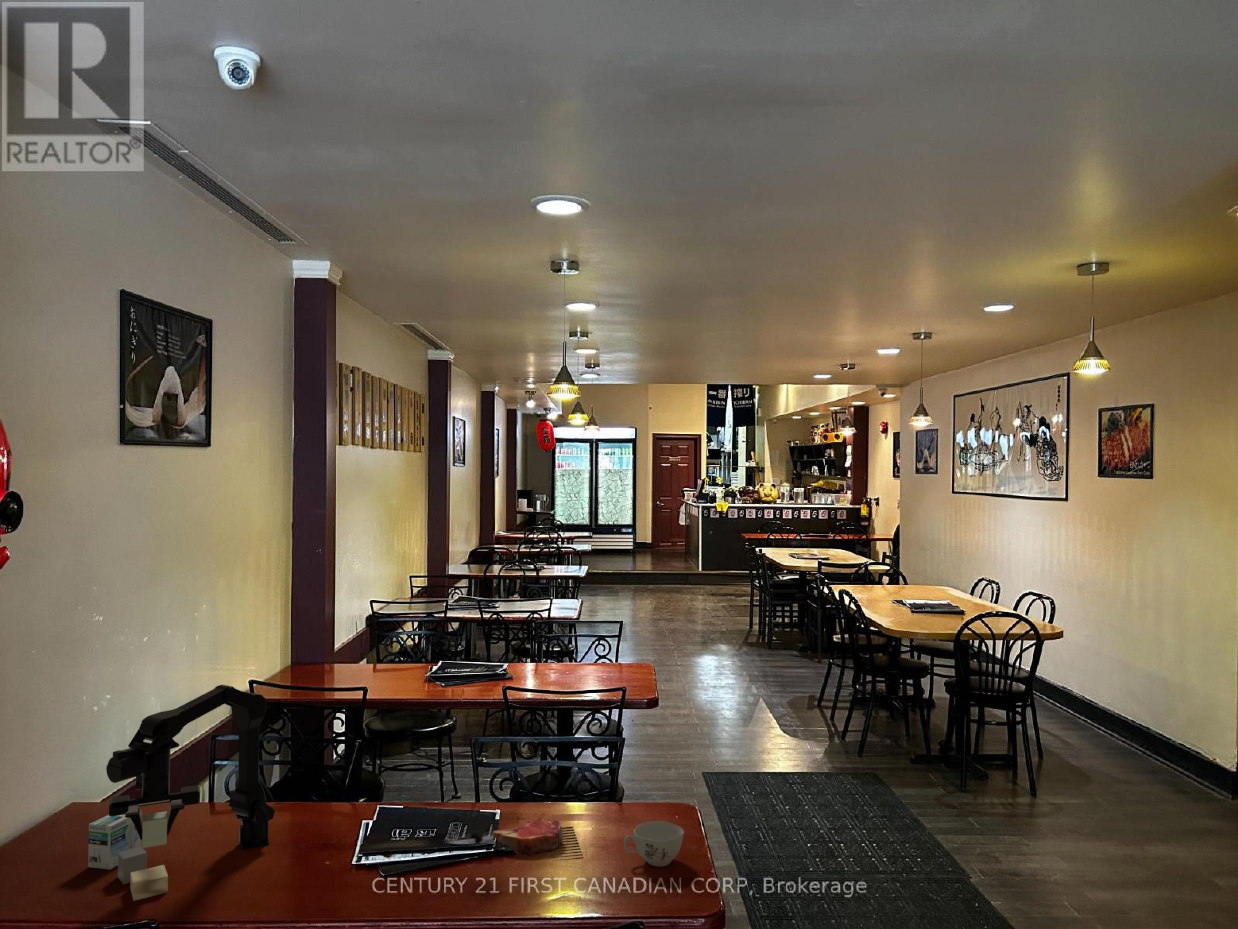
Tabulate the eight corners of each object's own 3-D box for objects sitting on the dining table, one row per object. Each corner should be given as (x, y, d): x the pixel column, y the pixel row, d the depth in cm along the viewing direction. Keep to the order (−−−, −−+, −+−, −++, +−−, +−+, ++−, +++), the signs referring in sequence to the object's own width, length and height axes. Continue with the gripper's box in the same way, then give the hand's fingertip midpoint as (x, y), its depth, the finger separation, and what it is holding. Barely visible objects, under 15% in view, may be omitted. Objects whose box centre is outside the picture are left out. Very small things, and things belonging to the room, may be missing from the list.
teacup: (679, 850, 220) (679, 819, 220) (687, 872, 208) (687, 839, 208) (621, 852, 219) (622, 821, 219) (626, 874, 207) (626, 841, 207)
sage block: (166, 836, 204) (167, 811, 204) (166, 844, 200) (167, 818, 200) (142, 840, 202) (143, 814, 202) (142, 848, 197) (142, 822, 197)
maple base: (164, 881, 204) (164, 864, 204) (167, 893, 198) (167, 876, 198) (130, 889, 200) (130, 872, 200) (133, 902, 194) (133, 884, 194)
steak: (572, 828, 235) (572, 808, 236) (583, 862, 215) (583, 840, 215) (481, 836, 231) (481, 815, 231) (483, 871, 210) (483, 848, 210)
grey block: (140, 871, 209) (141, 846, 209) (146, 877, 205) (146, 852, 205) (117, 877, 205) (118, 852, 205) (123, 884, 202) (123, 859, 202)
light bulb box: (110, 870, 209) (110, 826, 209) (86, 868, 210) (87, 824, 210) (142, 852, 219) (143, 809, 220) (120, 849, 221) (120, 807, 221)
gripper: (198, 755, 213) (197, 818, 212) (112, 766, 204) (110, 832, 203) (200, 768, 203) (199, 834, 202) (109, 780, 194) (107, 849, 193)
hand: (154, 837), depth 201 cm, fingers closed on sage block, 5 cm apart
